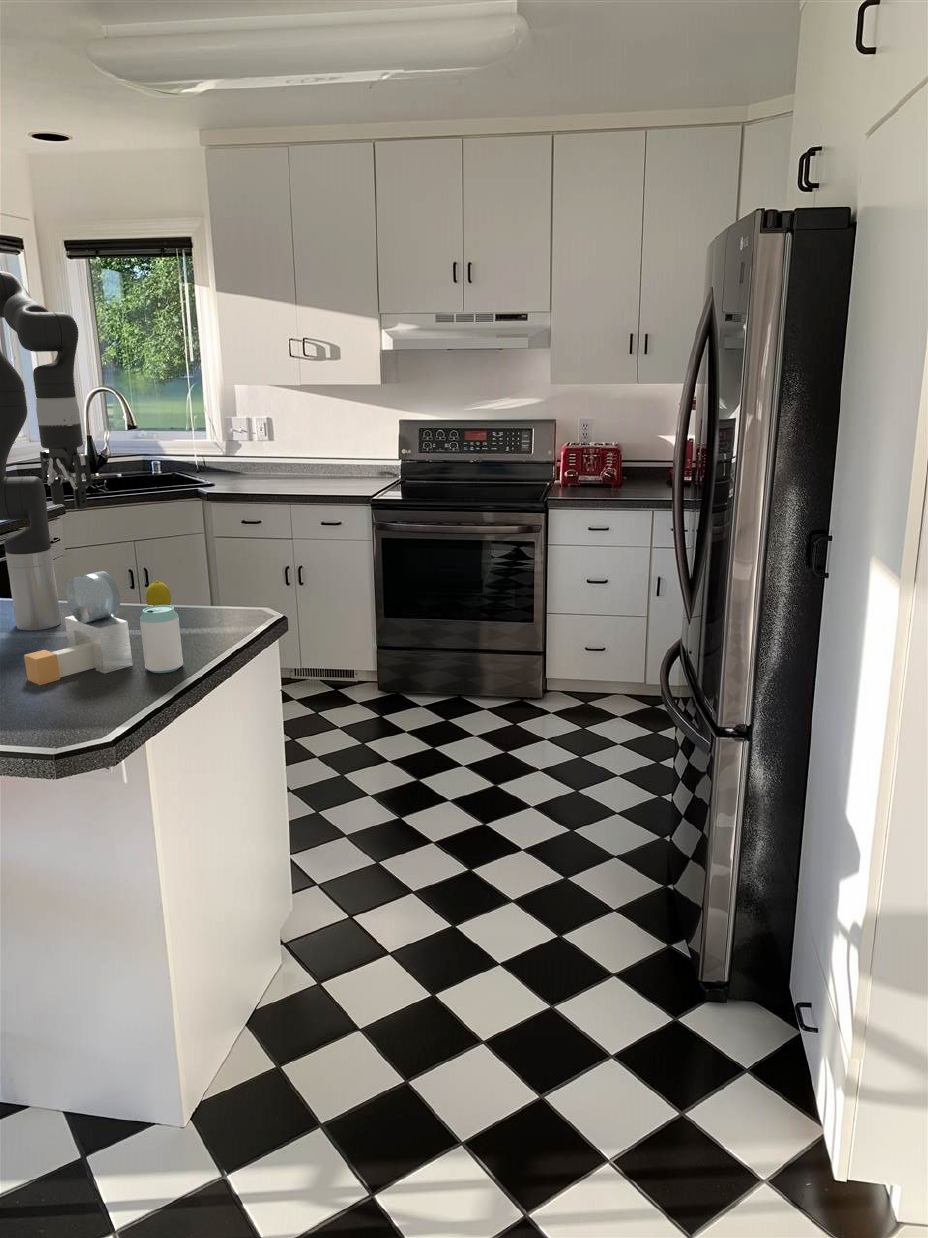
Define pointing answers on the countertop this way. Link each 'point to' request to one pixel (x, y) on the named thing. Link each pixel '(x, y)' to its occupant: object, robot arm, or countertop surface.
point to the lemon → (158, 594)
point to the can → (161, 639)
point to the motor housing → (98, 620)
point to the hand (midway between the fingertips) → (70, 506)
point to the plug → (59, 663)
